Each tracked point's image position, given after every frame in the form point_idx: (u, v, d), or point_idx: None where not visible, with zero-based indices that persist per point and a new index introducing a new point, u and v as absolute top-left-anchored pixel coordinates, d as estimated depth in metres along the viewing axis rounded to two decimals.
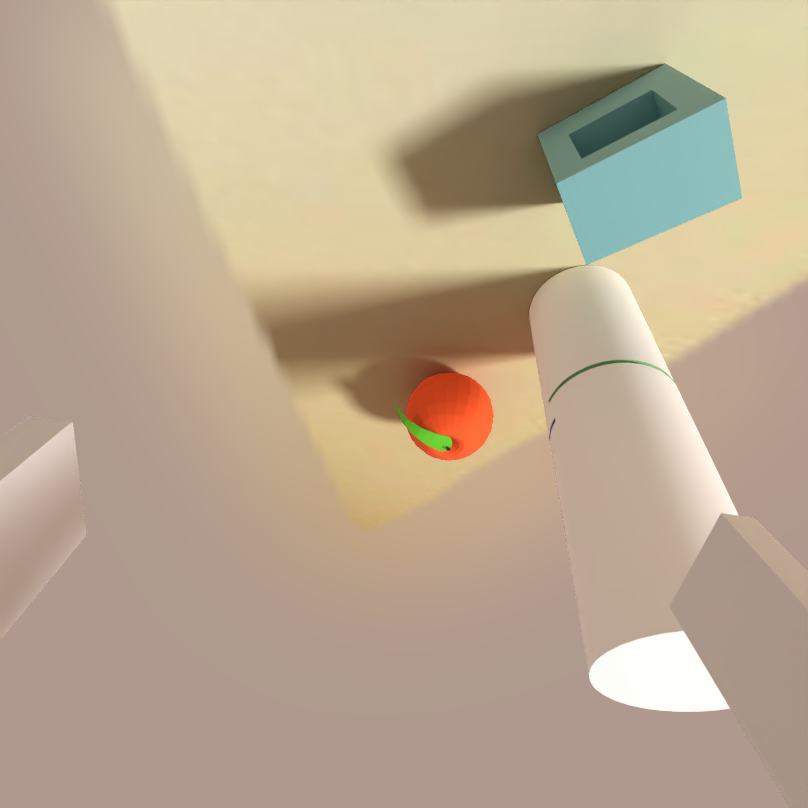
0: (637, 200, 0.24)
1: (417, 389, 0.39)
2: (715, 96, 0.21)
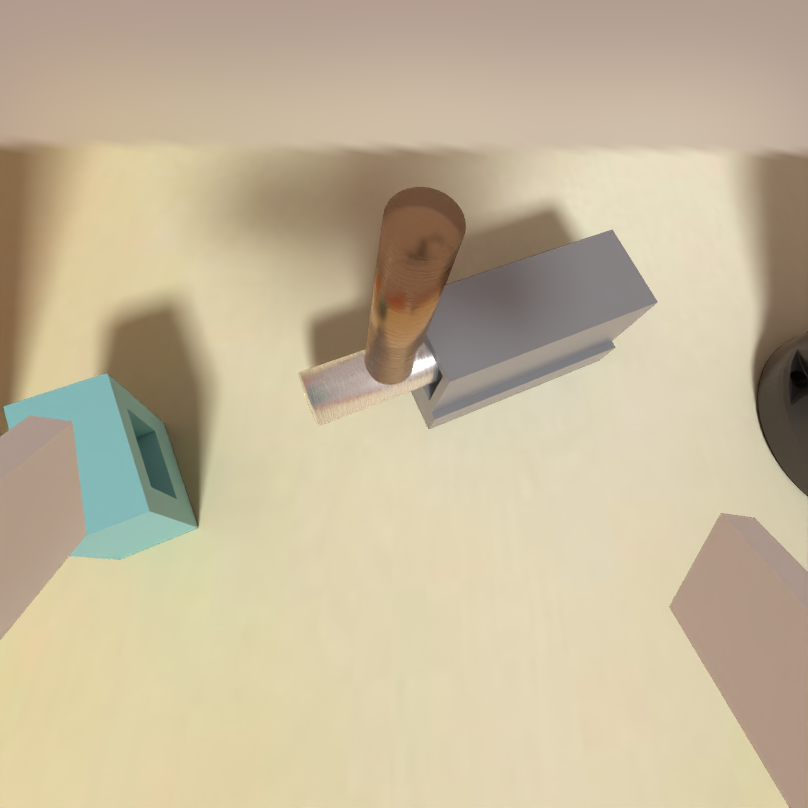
0: None
1: None
2: (154, 510, 0.23)
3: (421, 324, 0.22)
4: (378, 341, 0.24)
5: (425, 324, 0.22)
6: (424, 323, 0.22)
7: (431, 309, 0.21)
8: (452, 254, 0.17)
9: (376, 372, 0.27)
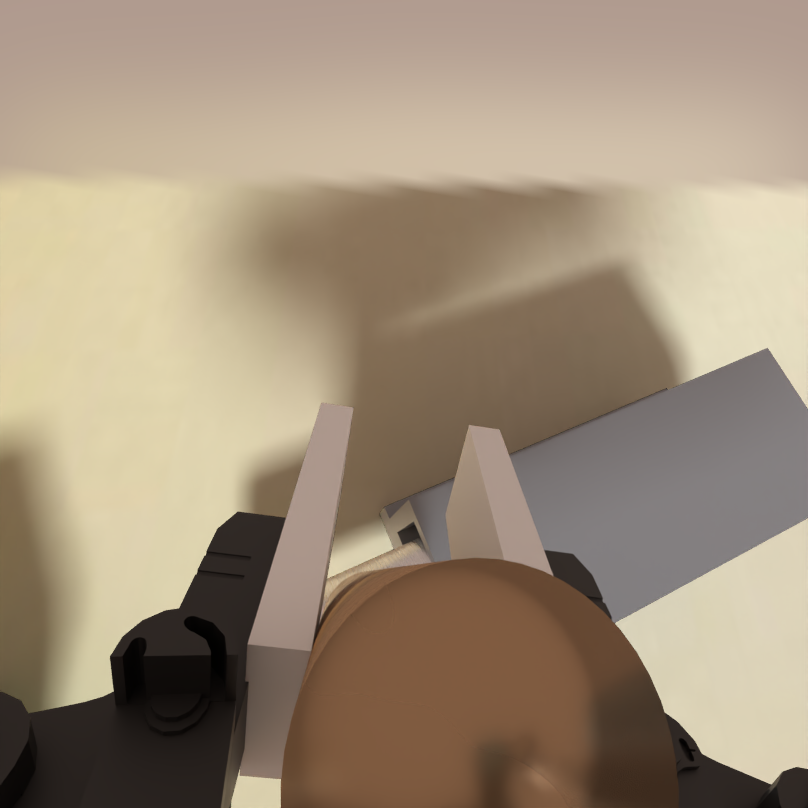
0: None
1: None
2: None
3: None
4: None
5: None
6: None
7: None
8: None
9: None
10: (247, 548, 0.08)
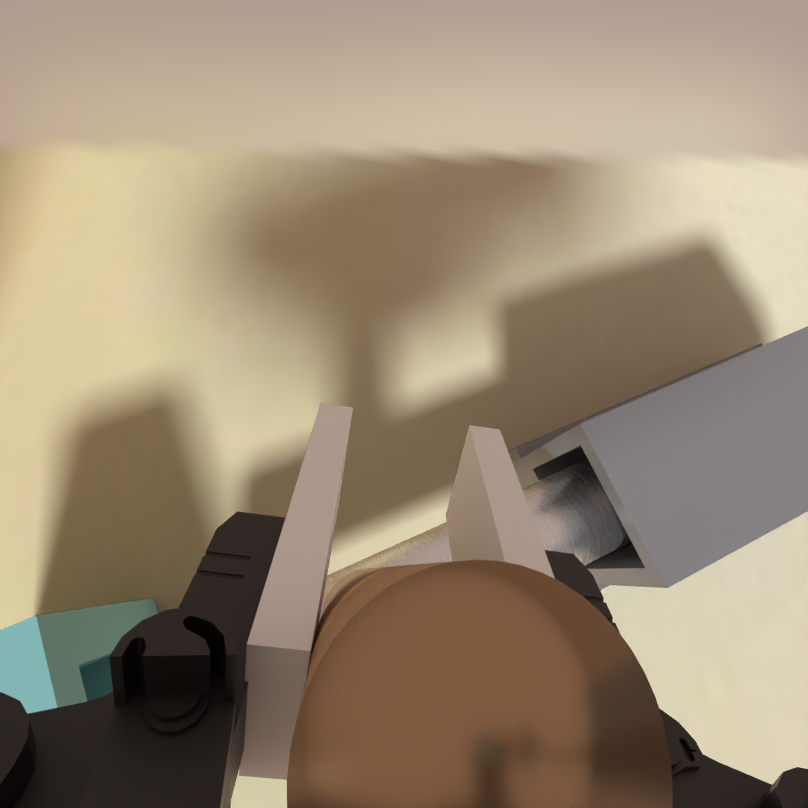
0: None
1: None
2: None
3: None
4: None
5: None
6: None
7: None
8: None
9: None
10: (246, 548, 0.08)
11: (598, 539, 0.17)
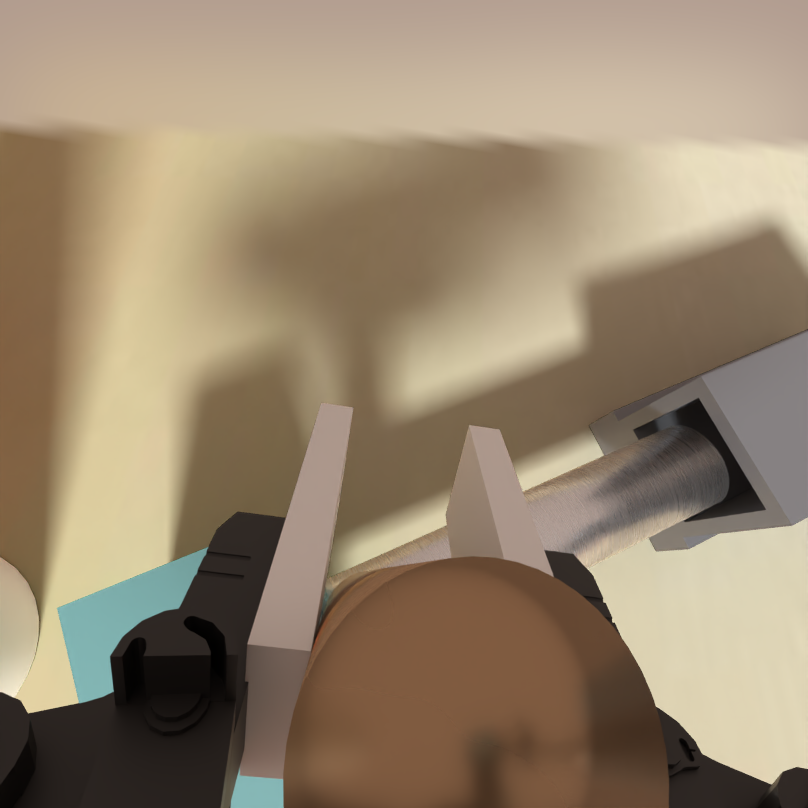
0: None
1: None
2: None
3: None
4: None
5: None
6: None
7: None
8: None
9: None
10: (247, 548, 0.08)
11: (601, 543, 0.17)
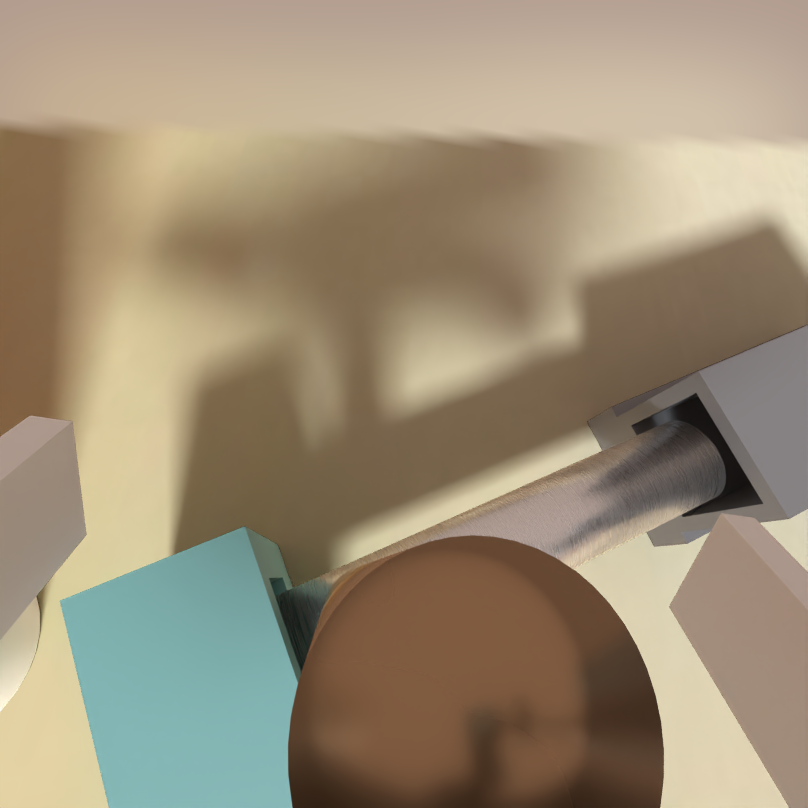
0: (182, 687, 0.12)
1: None
2: None
3: None
4: None
5: None
6: None
7: None
8: None
9: None
10: None
11: (598, 537, 0.17)
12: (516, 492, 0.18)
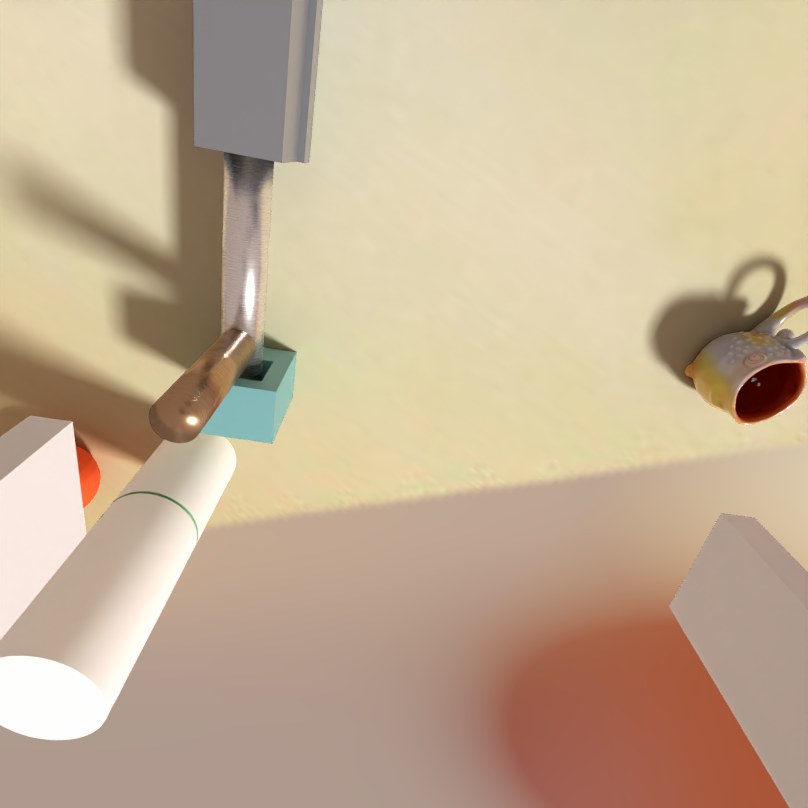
0: (220, 412, 0.39)
1: None
2: (276, 387, 0.39)
3: (228, 386, 0.32)
4: None
5: (229, 379, 0.33)
6: (228, 381, 0.33)
7: (223, 387, 0.31)
8: (201, 413, 0.28)
9: None
10: None
11: (254, 244, 0.35)
12: (222, 259, 0.37)
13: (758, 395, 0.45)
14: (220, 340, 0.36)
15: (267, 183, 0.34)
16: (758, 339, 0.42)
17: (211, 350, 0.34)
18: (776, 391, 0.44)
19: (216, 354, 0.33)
